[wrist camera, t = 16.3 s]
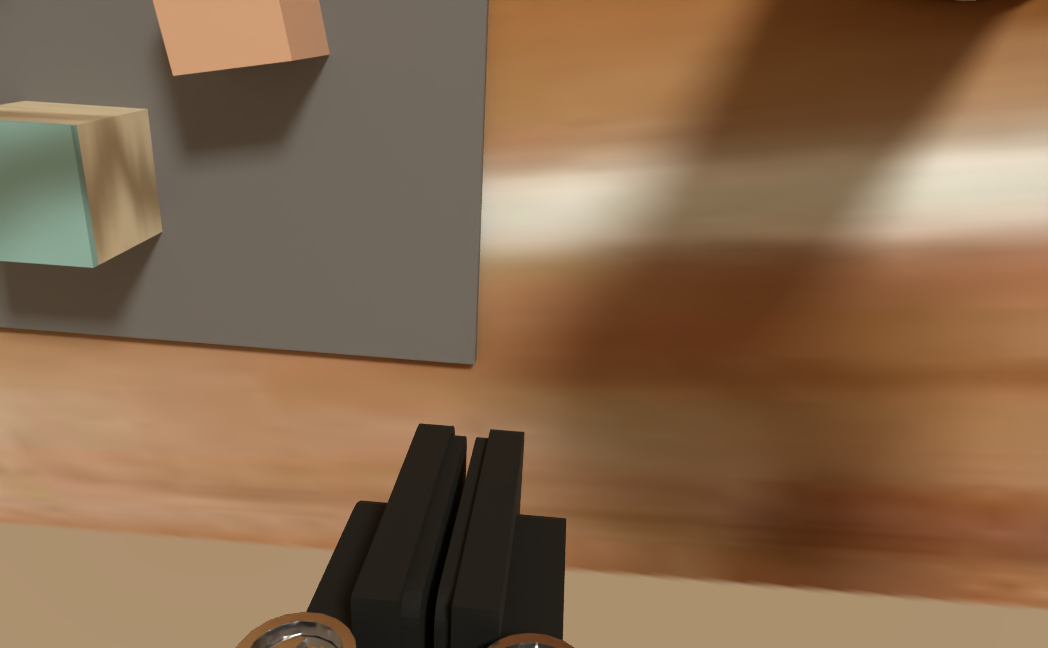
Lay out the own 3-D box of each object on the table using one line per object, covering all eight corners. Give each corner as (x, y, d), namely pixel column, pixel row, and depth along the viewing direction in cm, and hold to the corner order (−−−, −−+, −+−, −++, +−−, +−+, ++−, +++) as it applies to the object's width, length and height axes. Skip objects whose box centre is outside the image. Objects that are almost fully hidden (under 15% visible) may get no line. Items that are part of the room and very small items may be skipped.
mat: (-118, -44, 36) (-129, -45, 35) (488, -9, 35) (487, -9, 34) (-34, 319, 43) (-42, 323, 42) (476, 360, 41) (474, 364, 41)
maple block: (70, 126, 31) (147, 109, 37) (-73, 116, 32) (24, 100, 37) (93, 267, 34) (162, 231, 39) (-41, 257, 34) (46, 223, 39)
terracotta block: (196, -52, 34) (135, -61, 30) (305, -68, 34) (261, -80, 29) (225, 67, 36) (173, 75, 31) (329, 54, 35) (292, 60, 31)
